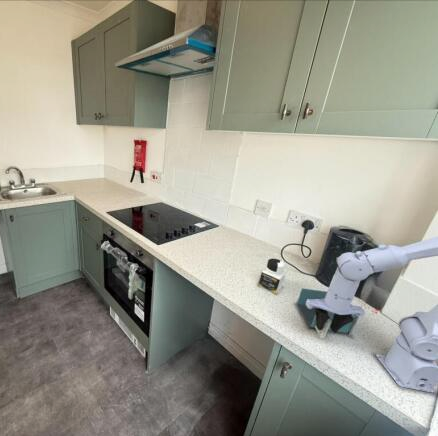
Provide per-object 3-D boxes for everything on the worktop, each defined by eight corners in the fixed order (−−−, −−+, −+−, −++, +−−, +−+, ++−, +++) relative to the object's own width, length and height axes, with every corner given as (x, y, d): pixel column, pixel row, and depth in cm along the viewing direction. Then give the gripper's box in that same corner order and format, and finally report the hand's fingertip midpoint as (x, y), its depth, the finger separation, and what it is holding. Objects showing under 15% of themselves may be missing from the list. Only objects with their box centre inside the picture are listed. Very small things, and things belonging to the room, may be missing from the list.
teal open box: (350, 336, 78) (359, 316, 75) (309, 329, 80) (316, 310, 77) (331, 310, 89) (339, 292, 86) (296, 305, 91) (302, 287, 88)
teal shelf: (356, 345, 74) (365, 327, 71) (318, 339, 75) (325, 321, 73) (346, 331, 79) (354, 314, 76) (310, 325, 80) (317, 308, 78)
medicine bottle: (257, 285, 101) (264, 260, 97) (264, 278, 106) (271, 254, 101) (275, 294, 97) (283, 268, 92) (281, 286, 101) (289, 261, 97)
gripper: (360, 288, 72) (344, 323, 77) (307, 280, 74) (295, 315, 79) (376, 304, 65) (358, 341, 70) (317, 295, 68) (303, 332, 73)
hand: (325, 329), depth 74 cm, fingers open, 3 cm apart
